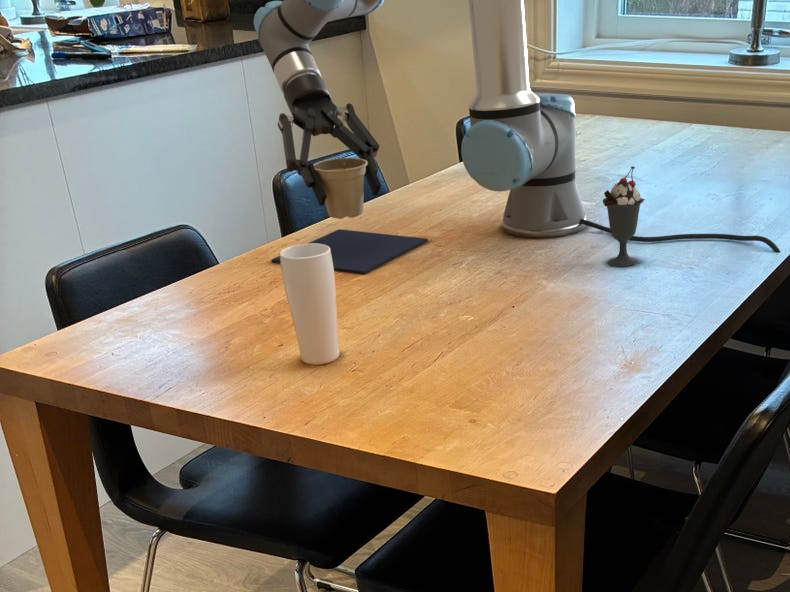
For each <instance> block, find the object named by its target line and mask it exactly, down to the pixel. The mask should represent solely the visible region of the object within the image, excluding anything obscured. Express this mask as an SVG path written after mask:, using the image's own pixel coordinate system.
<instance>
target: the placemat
mask: <svg viewBox="0 0 790 592" xmlns="http://www.w3.org/2000/svg"><path fill="white" fill-rule="evenodd" d="M427 242H429V238H425V237H415V236H405V235H396V234H387V233H376V232H368V231H359V230H349V229H336V230H335V231H332V232H330V233H327V234H326V235H323V236H321V237H319V238H316V239H313V240H312V241H310V242H309V243H317V244H324V245H327V246H329V247H330V249H331V255H332V260H333V266H334V272H335V271H337V272H343V273H351V274H360V275H366V274H368V273H370V272H372V271H373V270H376V269H377V268H379V267H381V266H383V265H385V264H387V263H389V262H391V261H393V260H395V259H397V258H399V257H401V256H403V255H404V254H406V253H409V252H410V251H413V250H414V249H416V248H418V247H420V246H422V245H424V244H426V243H427ZM270 260H271V263H273V264H280V255H278V256H276V257H274V258H272V259H270Z"/></svg>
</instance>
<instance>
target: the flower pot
mask: <svg viewBox="0 0 790 592" xmlns="http://www.w3.org/2000/svg"><path fill="white" fill-rule="evenodd" d="M367 164H368V162H367V161H366V160H364V159H360V158H359V157H337V158H330V159H324V160H321V161H318V162H316V163H313V165H314V167H315V170H316V172H317V174H318V177H319V179H320V181H321V184H322V186H323V188H324V190H325V193H326V195H327V197H326V200H325V203H324V205H325V207H326V211H327V213H326V214H327V215H328V217H329V218H331V219H339V220H341V219H342V220H343V219H344V218H347V217H348V218H351V219H353V218H357V217H360V216H361V215H363V214H364V212H365V209H364V208H365V207H364V206H365V205H364V201H365V199H364V198H365V197H364V195H365V191H364V190H365V175H364V174H365V172H366V166H367Z"/></svg>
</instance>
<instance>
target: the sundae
mask: <svg viewBox="0 0 790 592" xmlns="http://www.w3.org/2000/svg"><path fill="white" fill-rule="evenodd" d="M635 168H636V167H635V166H630V169H629V171H628V173H627V174H626V175H625V176H624V177H621V178H620V179H619V181H618V182H616V183H615V184H614V185H613V186H612V188H611V190H610V191H609V189H607V190H605V191H604V192H603V195H604V198H603V199H602V204H603V205H604V207H606V209H607V215H608V225H609V228H610V230H611V233H610V235H611V236H612V237H613V238H614V239H615V240H616V241H617V242H618V243H619V249H618V254H617V256H615V257H612V258H610V259H608V261H607V263H608V265H609V266H611V267H617V268H625V267H632V266H636V265H637V264H638V263H639V260H638V259H637V258H636V257H632V256H630V255H629V253H628V251H627V250H628V247H627V244H628V241H630V240H629V239H631V238H632V237H633V236H635V235H636V231H637V229H638V221H639V213H640V209H641V204H642V203H644V202H645V198H642V197H641V193H640V191H639V190H638V189H637V188H636V181H635V180H634V179H633V172H634V169H635ZM630 173H631V174H630ZM629 175H631V178H630V179H631V180H629V181H628V179H627V177H628V176H629Z"/></svg>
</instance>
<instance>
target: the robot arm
mask: <svg viewBox="0 0 790 592" xmlns="http://www.w3.org/2000/svg"><path fill="white" fill-rule="evenodd" d="M384 2H385V0H283V1H282V0H272V1H268V2H267V3H265V5H264V6H260V7H259V8H257V11H256V12H255V14H254V17H253V26H254V30H255V33H256V35H257V39H258V43H259V45H260V47H261V48H262V50H263V53H264V54H265V56H266V59H267V61H268V62H269V65H270V68H271V70H272V72H273V75H274V77H275V79H276V82H277V84H278V87H279V88H280V92H281V93H282V94H283V98H284V101H285V103H286V105H287V107H288V110H289V112H290V113H291V114H288V115H286V114H285V113H280V114H279V117H278V119H277V127H278V129H279V131H280V133H281V134H282V143H283V150H284V157H285V158H284V159H285V165H286V170H287V171H288V172H291V173H292V172H294V171H296V172H297V175H298V176H300V177H302V181H303V182H304V185H305V186H306V188H308V189H309V188H311V189H312V191H313V194H314V196H315V199H316V201H317V203H318V205H319V206H320V207H322V206H325V200H326V197H327V195H326V193H325V190H324V188H323V186H322V184H321V181H320V179H319V177H318V174H317V172H316V170H315V167H314V163H312V162H311V163H308V161H309V155H310V147H311V140H312V136H313V137H318V136H320V135H331V136H332V137H333V138H334V139H337V140H339V141H340V142H341V143H342V144H343V145H344V146H346V147H347V149H349V150H350V151H351V152H352V153H353V154H355V155H356V156H357V158H360V159H364V160H366V161H367V162H368V164H367V166H366V172H365V174H364V178H365V179H366V182H367V184H368V186H369V188H370V190H371V192H372V195H373V196H378V195H379V193H380V190H381V187H382V184H381V181H380V180H379V177H378V175H377V174H378V172H379V167H378V165H377V162H376V160H375V158H376V157H377V154H378V152H379V150H380V144H379V143H378V141H377V140H376V139H375V137H374V136H373V135H372V134H371V132H370V131H369V129H368V128H367V127H366V126H365V124H364V123H363V122H362V121H361V119H360V118H359V117H358V115H357V114H356V111H355V108H354V105H353V104H352V103H347V104H346V105H345V106H340V107H339V106H337V105H336V104H335V103H334V102H333V100H332V96H331V93H330V92H329V89H328V87H327V84H326V82H325V80H324V78H323V76H322V73H321V71H320V69H319V67H318V65H317V63H316V61H315V58H314V56H313V54H312V51H311V48H310V43H311V42H312V41H313V40H314V39H315V37H317V35H318V33H319V32H320V31H321V30H322V28H323V27H324V26H325V25H326V24H327V23H328V22H333V21H338V20H342V19H347V18H352V17H359V16H367V15H370V14H371V13H374V12H376V11H378V10H379V9H380V8H381V7H382V6H383V5H384ZM468 10H469V11H468V12H469V19H470V20H469V21H470V32H471V43H472V55H473V65H474V76H475V86H476V87H475V88H476V89H475V90H476V94H475V97H473V98H472V100H471V102H470V103H469V104H468V113H469V123H470V127H468V129H467V131H466V133H465V134H464V136H463V138H462V141H461V146H460V147H461V148H460V152H461V154H460V155H461V158H462V163H463V166H464V168H465V170H466V173H468V175H469V176H470V179H472V180H474V182H475V183H477V184H478V185H479V186H480V187H482V188H484V189H485V190H488V191H492V192H498V193H499V192H500V193H501V192H506V191H509V193H508V198H507V201H506V204H505V208H504V212H503V215H502V229H503V230H504V232H505V233H508V234H509V235H513V236H516V237H521V238H522V237H524V238H554V237H561V236H566V235H571V234H574V233H577V232H580V231H581V230H583V229H584V228H585V227H586V226H587V227H591V228H593V229H596V230H599V231H602V232H605V233H608V234H611V230H610V227H609V226H608V227H607V226H604V225H602V224H599V223H597V222H593V221H591V220H590V221H589V220H588V219H587V216H586V211H585V207H584V204H583V201H582V198H581V195H580V192H579V188H578V186H577V181H576V118H577V114H576V111H575V110H576V109H575V101H574V99H573V97H571V96H570V95H569V94H563V93H561V94H560V93H535V92H533V91H532V89H531V87H530V79H529V78H530V76H529V62H528V48H527V33H526V32H527V31H526V19H525V4H524V0H468ZM339 117H341V118H342V119H340V118H339ZM344 122H345V123H346V125H347V126H345V124H344ZM293 124H294V125H295V126H297V127H298V128H300V129H301V130H303V133H302V138H301V148H300V154H299V159H297V157H296V149H295V143H294V141H295V140H294V135H293ZM678 240H730V241H739V242H762V243H764V244H766V245H767V246H768V247H769V248H770V249H771V250H772V251H773V252H774V253H776V254H779V253H781V249H780V248H779V247H778V246H777V245H776V243H774V242H773V241H772V240H771V239H769V238H768V237H765V236H762V235H739V234H727V233H683V234H682V233H678V234H670V235H669V234H668V235H658V236H638V235H633V237H632V238H631V239H629V240H628V241H630V242H639V243H658V242H668V241H678Z"/></svg>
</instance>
